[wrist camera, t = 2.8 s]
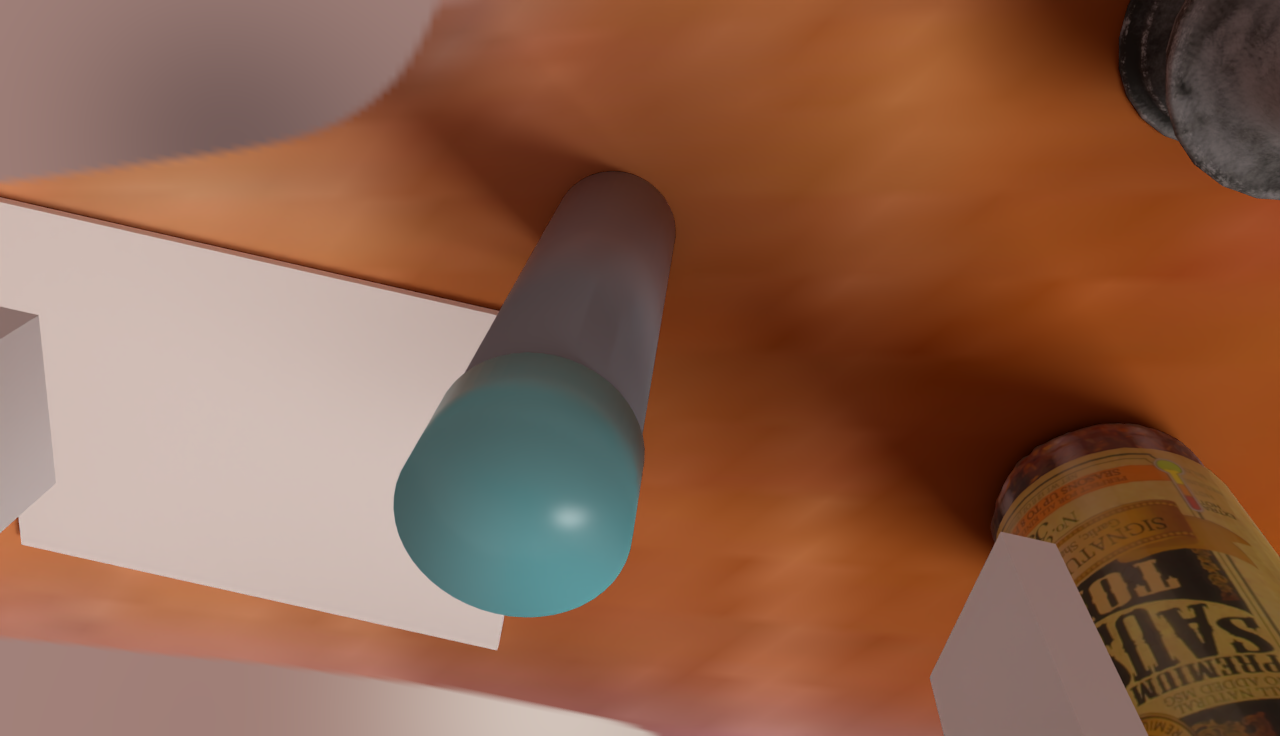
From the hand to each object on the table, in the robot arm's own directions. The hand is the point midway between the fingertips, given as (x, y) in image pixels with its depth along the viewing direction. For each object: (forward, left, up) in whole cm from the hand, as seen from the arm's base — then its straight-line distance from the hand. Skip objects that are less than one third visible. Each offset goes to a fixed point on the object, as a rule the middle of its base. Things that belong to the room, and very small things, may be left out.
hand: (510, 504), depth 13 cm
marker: (0, 0, -13) cm, 13 cm away
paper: (-9, +9, -13) cm, 18 cm away
